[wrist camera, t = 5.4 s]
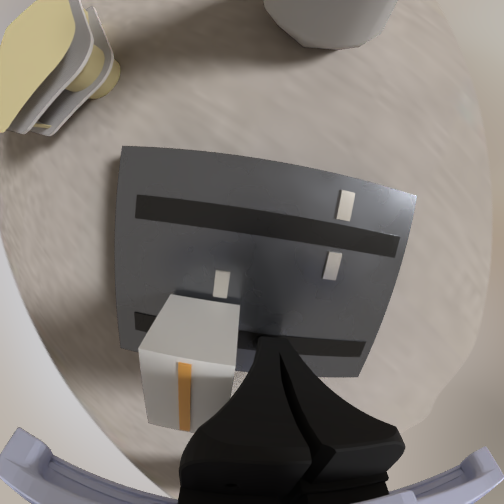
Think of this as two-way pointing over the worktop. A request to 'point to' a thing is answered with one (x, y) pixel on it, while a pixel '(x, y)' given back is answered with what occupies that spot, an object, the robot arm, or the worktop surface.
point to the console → (259, 250)
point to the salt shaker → (331, 21)
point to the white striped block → (189, 361)
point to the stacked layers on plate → (53, 66)
